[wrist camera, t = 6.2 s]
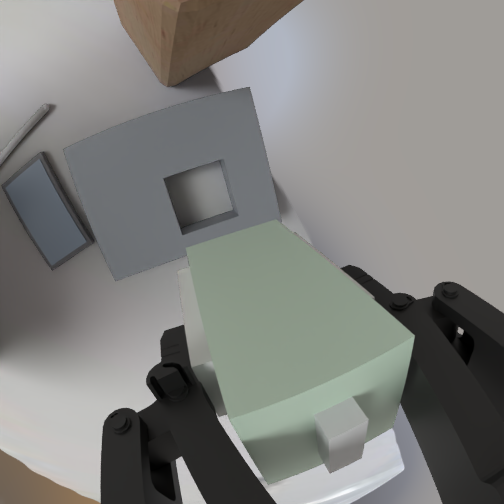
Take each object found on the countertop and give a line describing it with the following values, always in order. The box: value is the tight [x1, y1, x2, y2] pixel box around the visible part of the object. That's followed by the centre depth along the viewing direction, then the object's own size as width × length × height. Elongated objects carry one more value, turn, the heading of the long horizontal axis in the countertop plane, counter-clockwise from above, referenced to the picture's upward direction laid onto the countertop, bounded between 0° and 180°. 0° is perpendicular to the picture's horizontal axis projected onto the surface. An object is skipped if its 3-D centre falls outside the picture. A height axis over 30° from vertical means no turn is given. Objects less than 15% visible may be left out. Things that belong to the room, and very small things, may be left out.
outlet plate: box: [63, 87, 282, 281], centre depth 27 cm, size 18×14×2 cm
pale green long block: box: [186, 220, 415, 485], centre depth 10 cm, size 4×4×10 cm
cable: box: [0, 104, 49, 165], centre depth 21 cm, size 13×1×1 cm, turn 124°
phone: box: [2, 152, 94, 271], centre depth 25 cm, size 6×11×1 cm, turn 24°
